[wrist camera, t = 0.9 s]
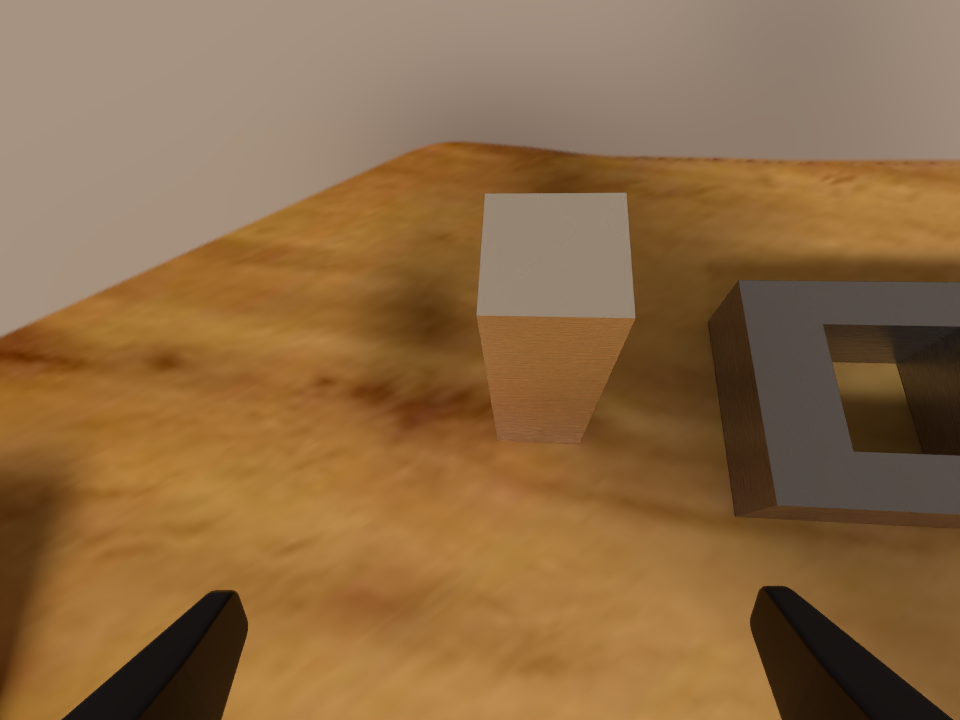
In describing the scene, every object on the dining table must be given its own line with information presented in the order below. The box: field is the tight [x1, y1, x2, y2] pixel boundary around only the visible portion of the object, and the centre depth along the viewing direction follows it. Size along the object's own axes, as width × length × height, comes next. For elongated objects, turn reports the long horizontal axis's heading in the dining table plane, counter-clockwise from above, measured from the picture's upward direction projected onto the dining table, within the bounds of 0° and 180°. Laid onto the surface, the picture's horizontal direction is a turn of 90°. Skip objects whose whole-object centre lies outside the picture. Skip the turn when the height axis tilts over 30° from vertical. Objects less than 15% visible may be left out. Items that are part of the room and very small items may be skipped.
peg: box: [476, 193, 635, 444], centre depth 19 cm, size 4×4×13 cm
